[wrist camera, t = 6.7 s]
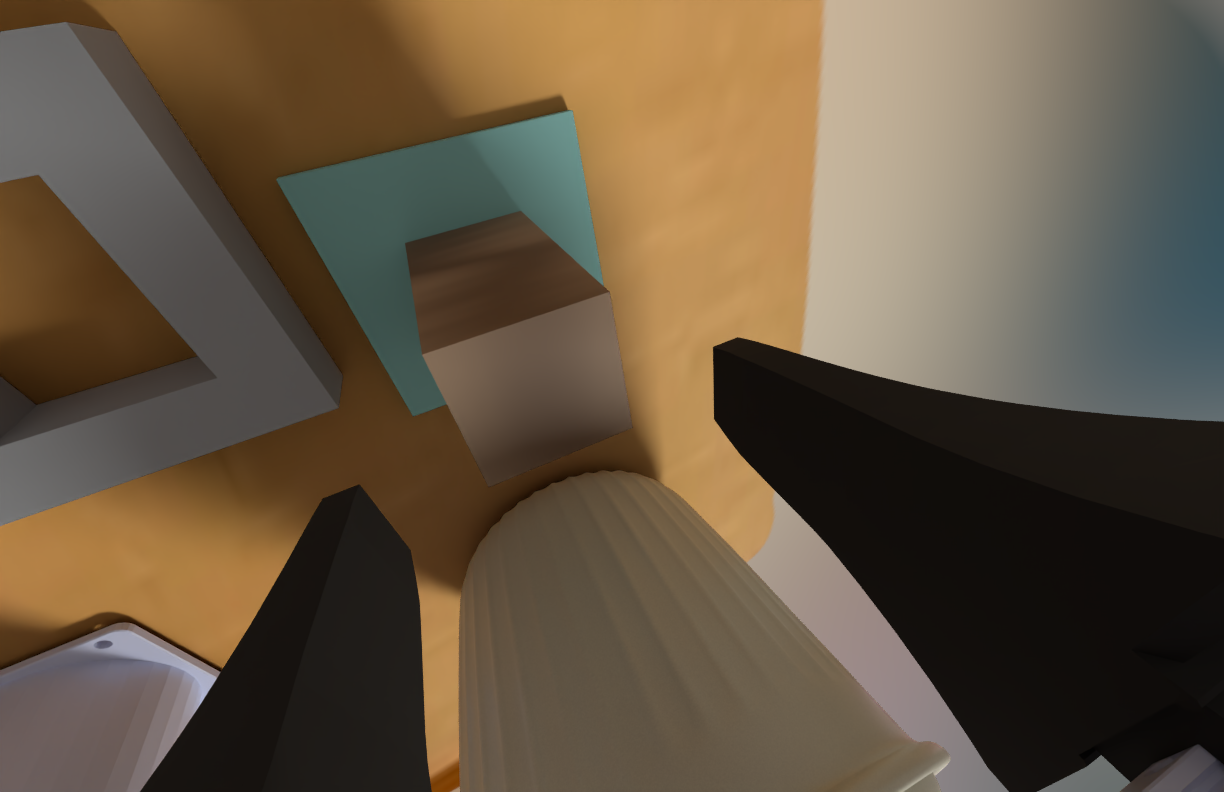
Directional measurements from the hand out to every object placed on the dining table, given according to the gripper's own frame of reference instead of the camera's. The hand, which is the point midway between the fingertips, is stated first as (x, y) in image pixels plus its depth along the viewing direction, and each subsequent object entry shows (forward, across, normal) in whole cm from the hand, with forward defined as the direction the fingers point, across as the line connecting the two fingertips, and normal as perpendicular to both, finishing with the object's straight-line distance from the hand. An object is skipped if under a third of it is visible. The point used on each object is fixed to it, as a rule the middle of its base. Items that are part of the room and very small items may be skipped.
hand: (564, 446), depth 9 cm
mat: (+10, 0, 0) cm, 10 cm away
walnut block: (+10, 0, 0) cm, 10 cm away
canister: (+10, 0, +17) cm, 20 cm away
